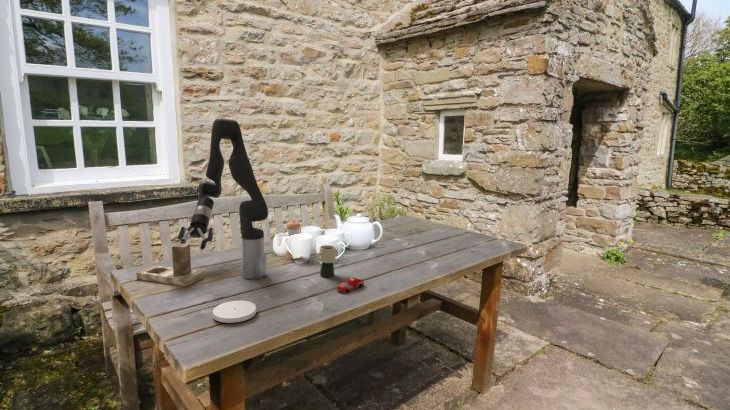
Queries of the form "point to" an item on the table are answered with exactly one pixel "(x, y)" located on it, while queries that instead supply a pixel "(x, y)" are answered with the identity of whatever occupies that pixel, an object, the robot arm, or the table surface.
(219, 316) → the plastic lid
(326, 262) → the character mug
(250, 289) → the table surface
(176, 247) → the walnut block
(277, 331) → the table surface
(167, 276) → the puzzle board
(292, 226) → the pepper shaker
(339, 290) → the race car
